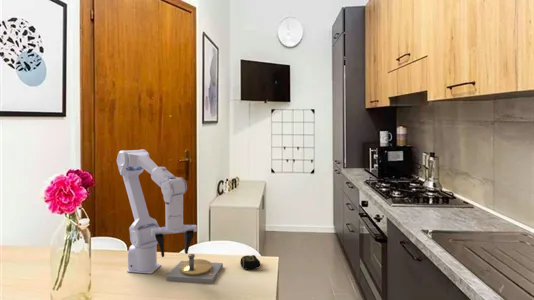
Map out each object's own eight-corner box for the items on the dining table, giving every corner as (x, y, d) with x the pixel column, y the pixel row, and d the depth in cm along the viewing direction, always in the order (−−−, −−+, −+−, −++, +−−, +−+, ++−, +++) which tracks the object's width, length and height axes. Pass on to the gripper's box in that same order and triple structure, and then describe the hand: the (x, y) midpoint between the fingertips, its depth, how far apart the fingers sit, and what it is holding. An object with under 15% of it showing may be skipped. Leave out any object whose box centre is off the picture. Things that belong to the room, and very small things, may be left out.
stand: (166, 280, 122) (166, 275, 122) (181, 264, 136) (181, 260, 136) (212, 283, 120) (212, 279, 120) (222, 267, 134) (222, 262, 133)
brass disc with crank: (186, 262, 134) (186, 244, 133) (215, 264, 132) (215, 246, 132) (174, 274, 123) (174, 255, 122) (206, 277, 121) (206, 257, 121)
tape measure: (261, 270, 132) (261, 260, 131) (242, 272, 130) (242, 262, 129) (255, 263, 138) (256, 253, 138) (238, 265, 136) (238, 255, 136)
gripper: (152, 219, 113) (153, 261, 114) (198, 215, 118) (198, 255, 120) (150, 214, 119) (151, 254, 120) (194, 210, 125) (194, 248, 126)
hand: (174, 254), depth 120 cm, fingers open, 7 cm apart
